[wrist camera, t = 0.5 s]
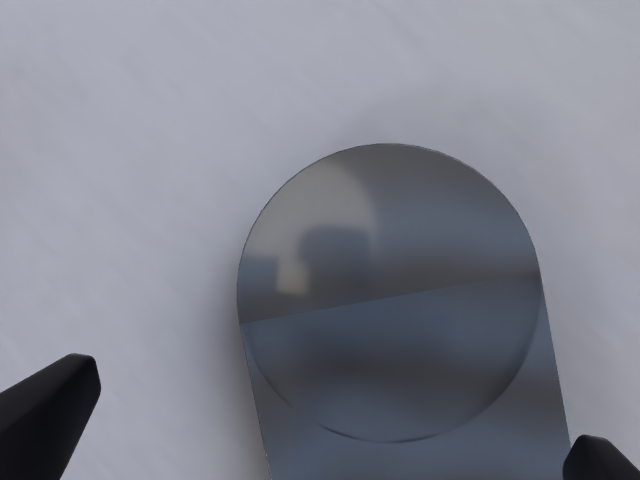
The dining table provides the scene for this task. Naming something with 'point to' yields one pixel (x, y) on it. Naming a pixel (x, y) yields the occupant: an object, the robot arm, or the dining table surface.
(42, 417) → the robot arm
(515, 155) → the dining table surface
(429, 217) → the grey kitchen scale
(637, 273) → the dining table surface
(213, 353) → the dining table surface
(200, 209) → the dining table surface
